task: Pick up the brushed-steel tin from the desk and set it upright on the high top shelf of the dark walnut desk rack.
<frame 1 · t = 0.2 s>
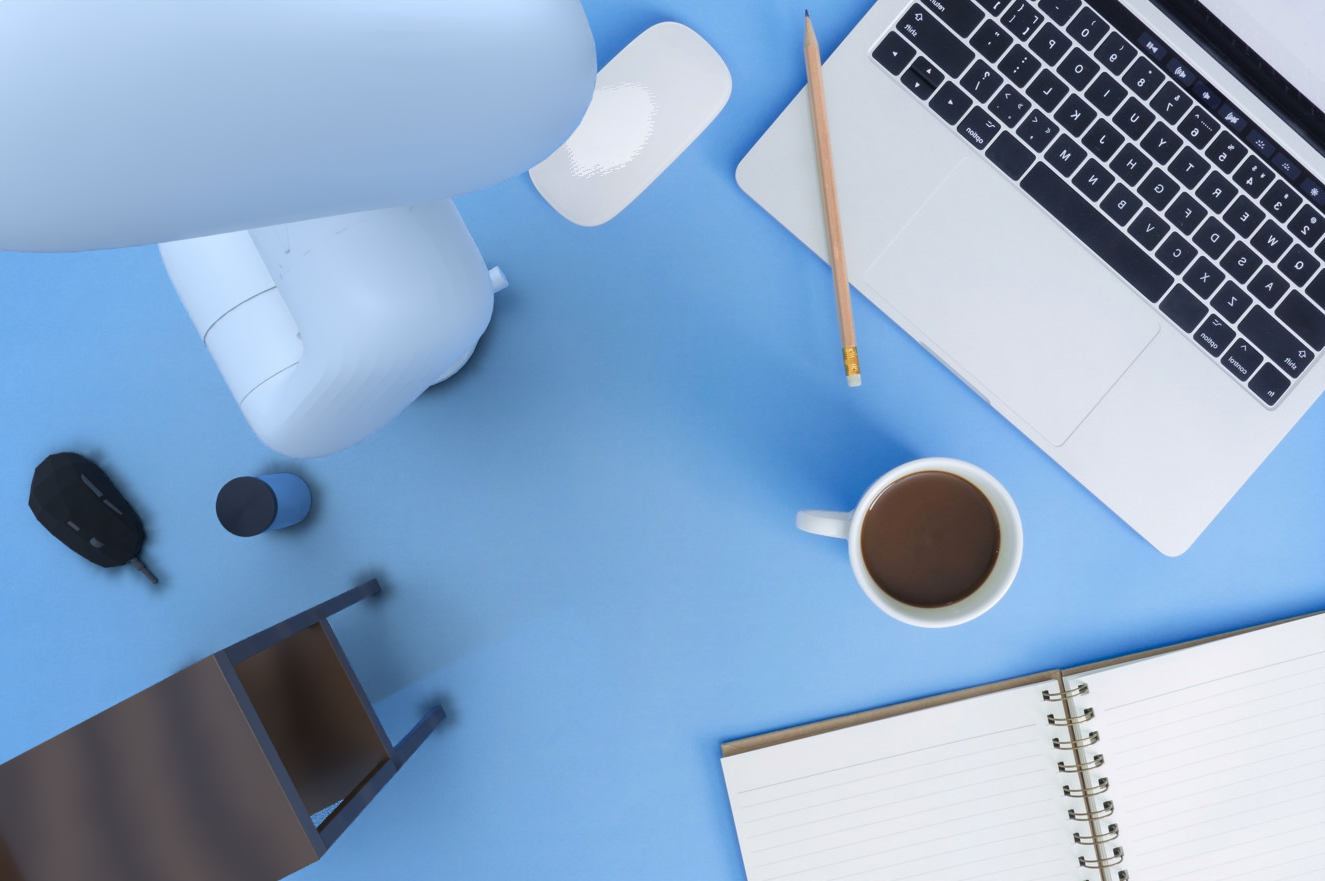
gaming mouse: (105, 521, 80), on the table
steel tin: (285, 499, 79), on the table
rack frame: (314, 696, 79), on the table
top shelf: (137, 820, 55), resting on rack frame
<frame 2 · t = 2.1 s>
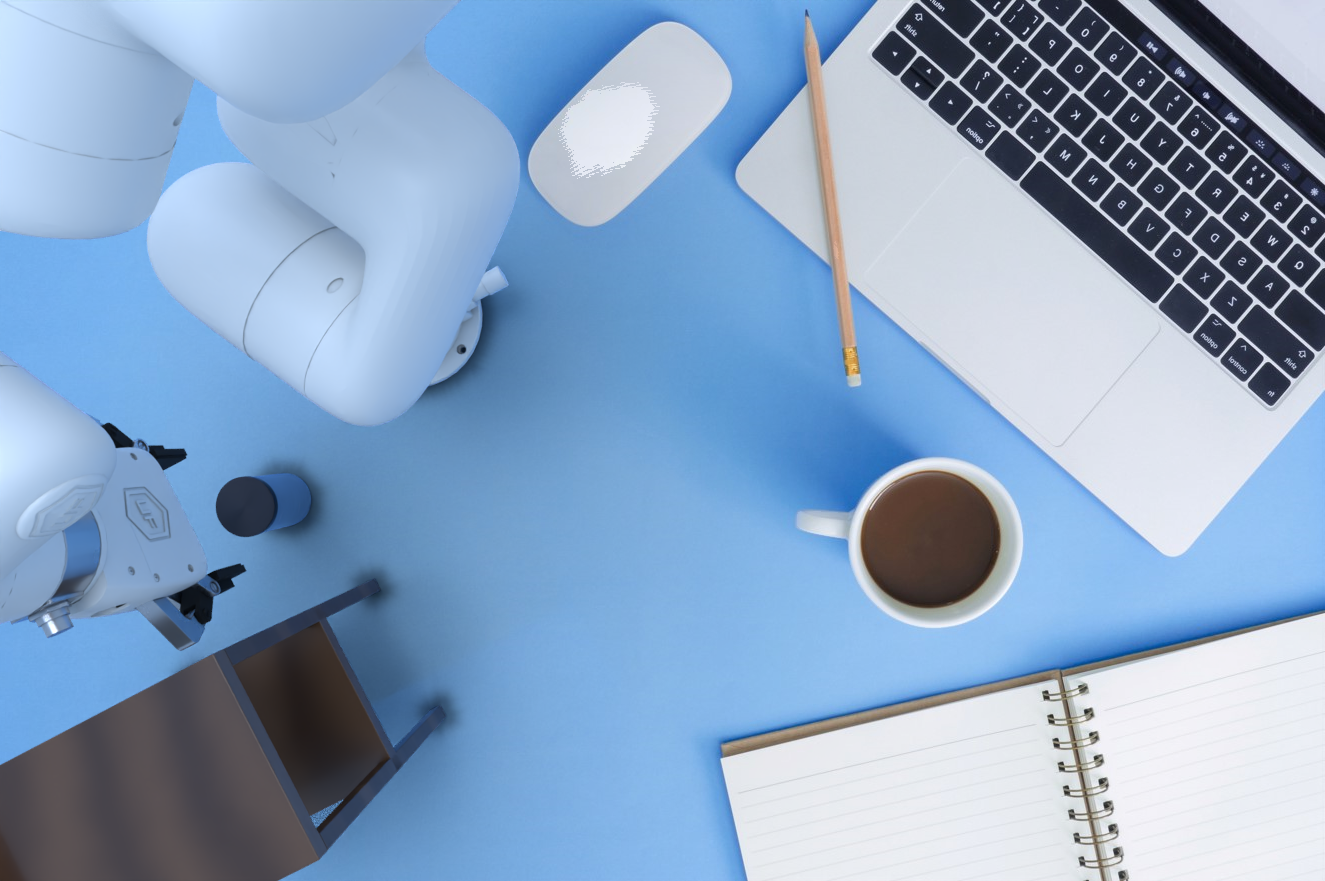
hand: (199, 518, 66), 13 cm above the table, tool pointing down, fingers open, 9 cm apart
nothing on the table moved.
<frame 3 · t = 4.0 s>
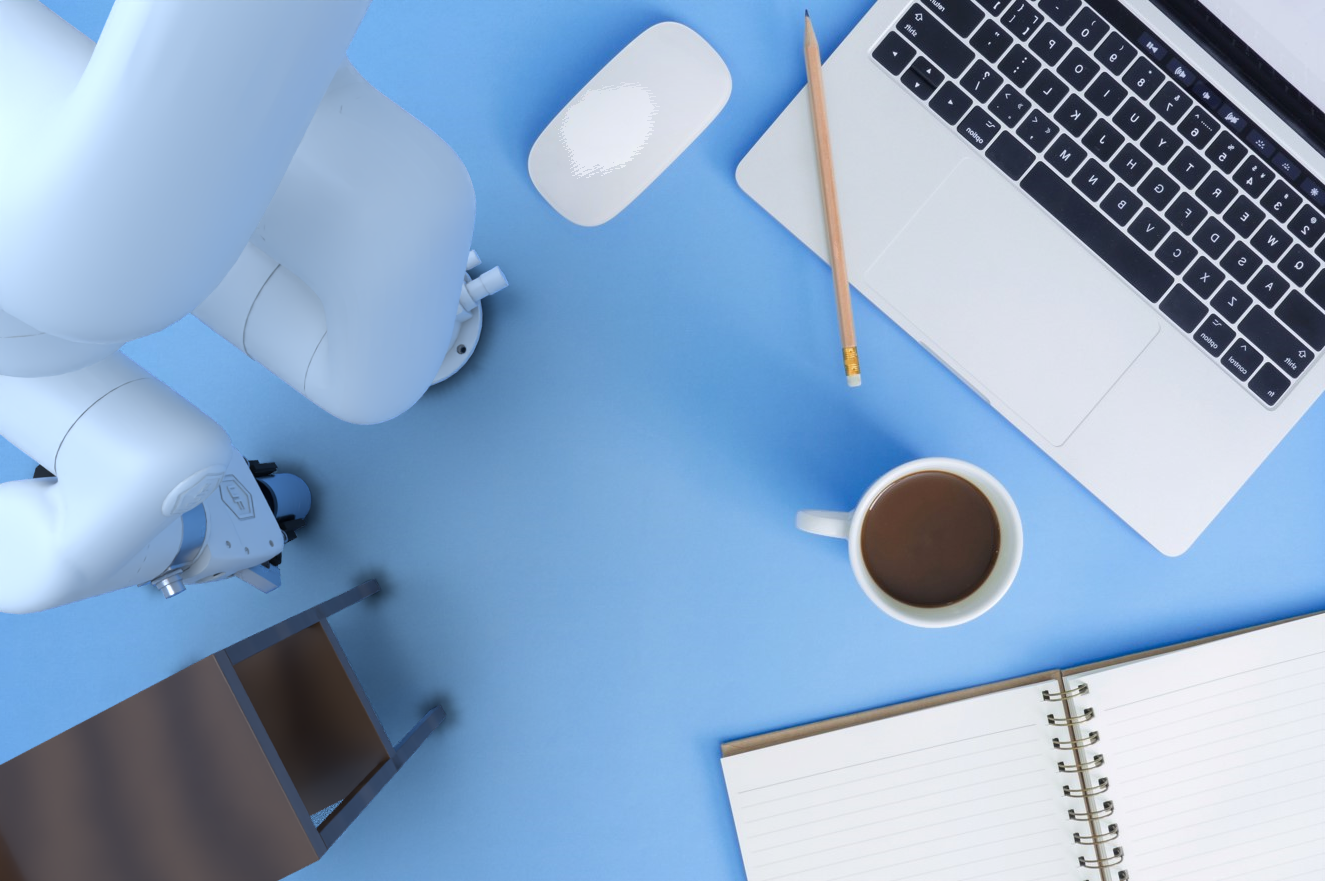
hand: (275, 501, 77), 2 cm above the table, tool pointing down, fingers closed on steel tin, 4 cm apart
steel tin: (285, 499, 79), on the table, touching gripper
everything else where it was.
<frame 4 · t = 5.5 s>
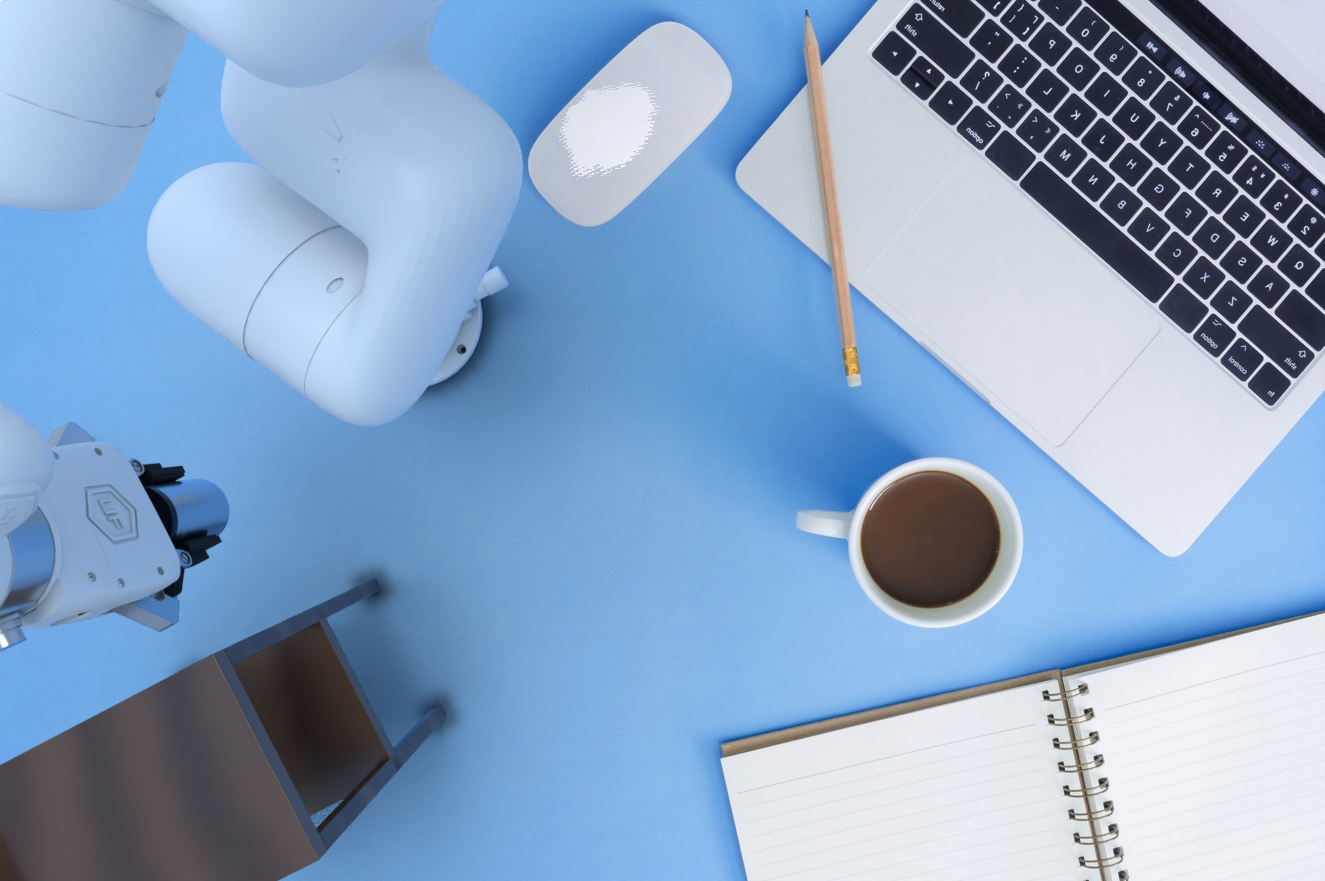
hand: (183, 513, 63), 16 cm above the table, tool pointing down, fingers closed on steel tin, 4 cm apart
steel tin: (198, 510, 65), point 14 cm above the table, touching gripper
everything else where it was.
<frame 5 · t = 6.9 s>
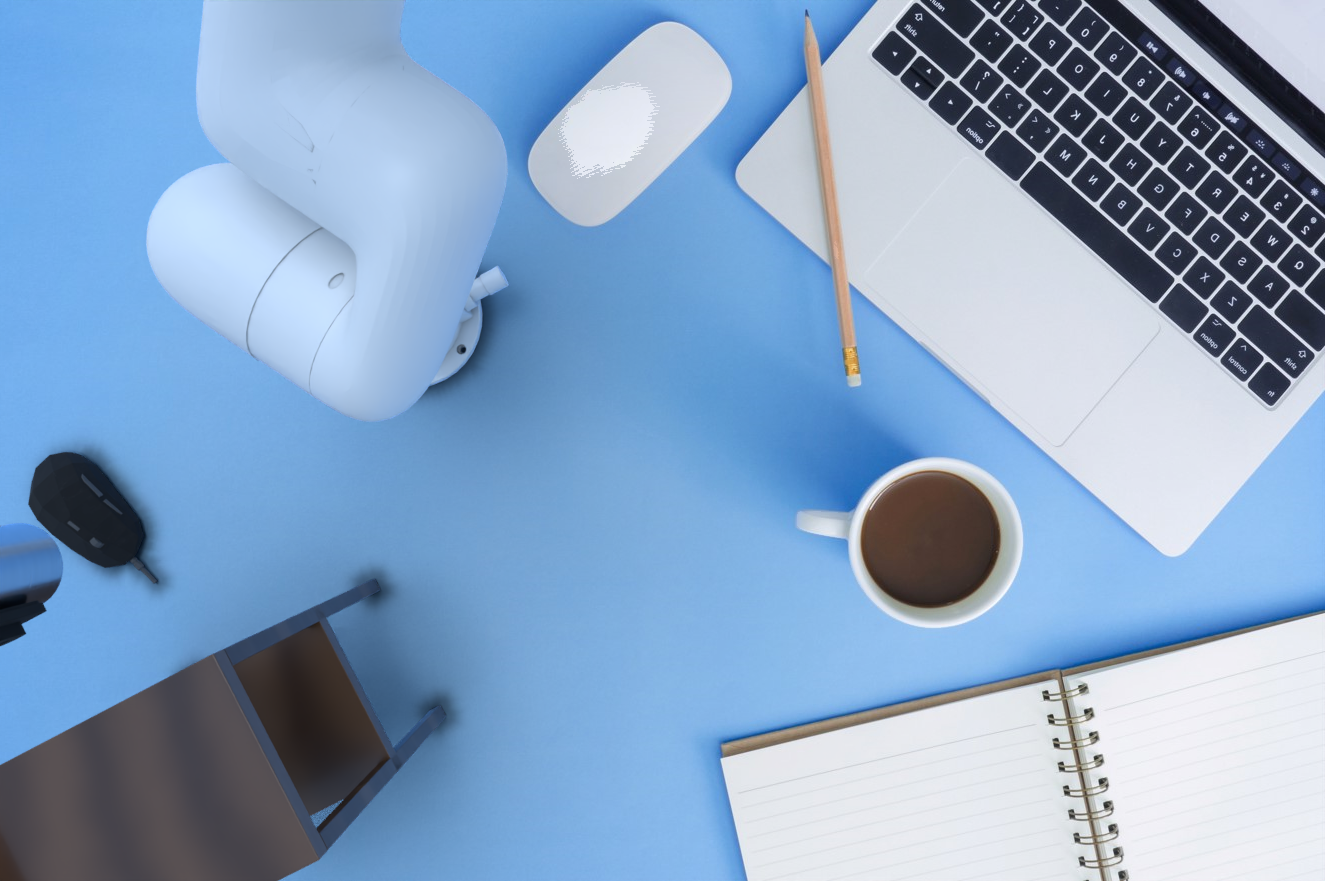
steel tin: (21, 566, 48), point 31 cm above the table, touching gripper
everything else where it was.
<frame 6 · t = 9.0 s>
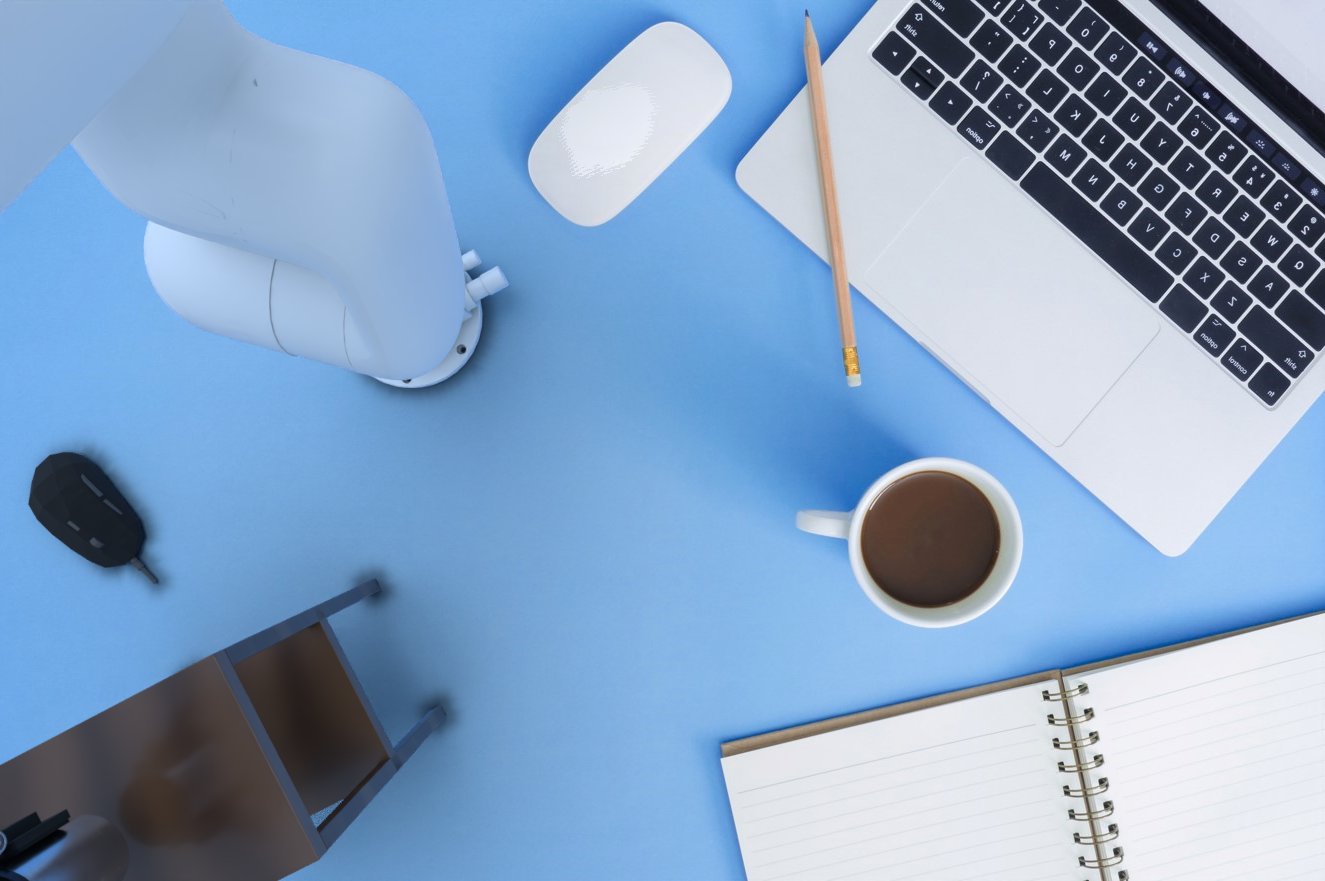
hand: (68, 870, 49), 31 cm above the table, tool pointing down, fingers closed on steel tin, 4 cm apart
steel tin: (89, 855, 51), point 29 cm above the table, touching gripper
everything else where it was.
when the fingers open (28 cm above the table, at t = 10.2 s): steel tin stays where it is, resting on top shelf.
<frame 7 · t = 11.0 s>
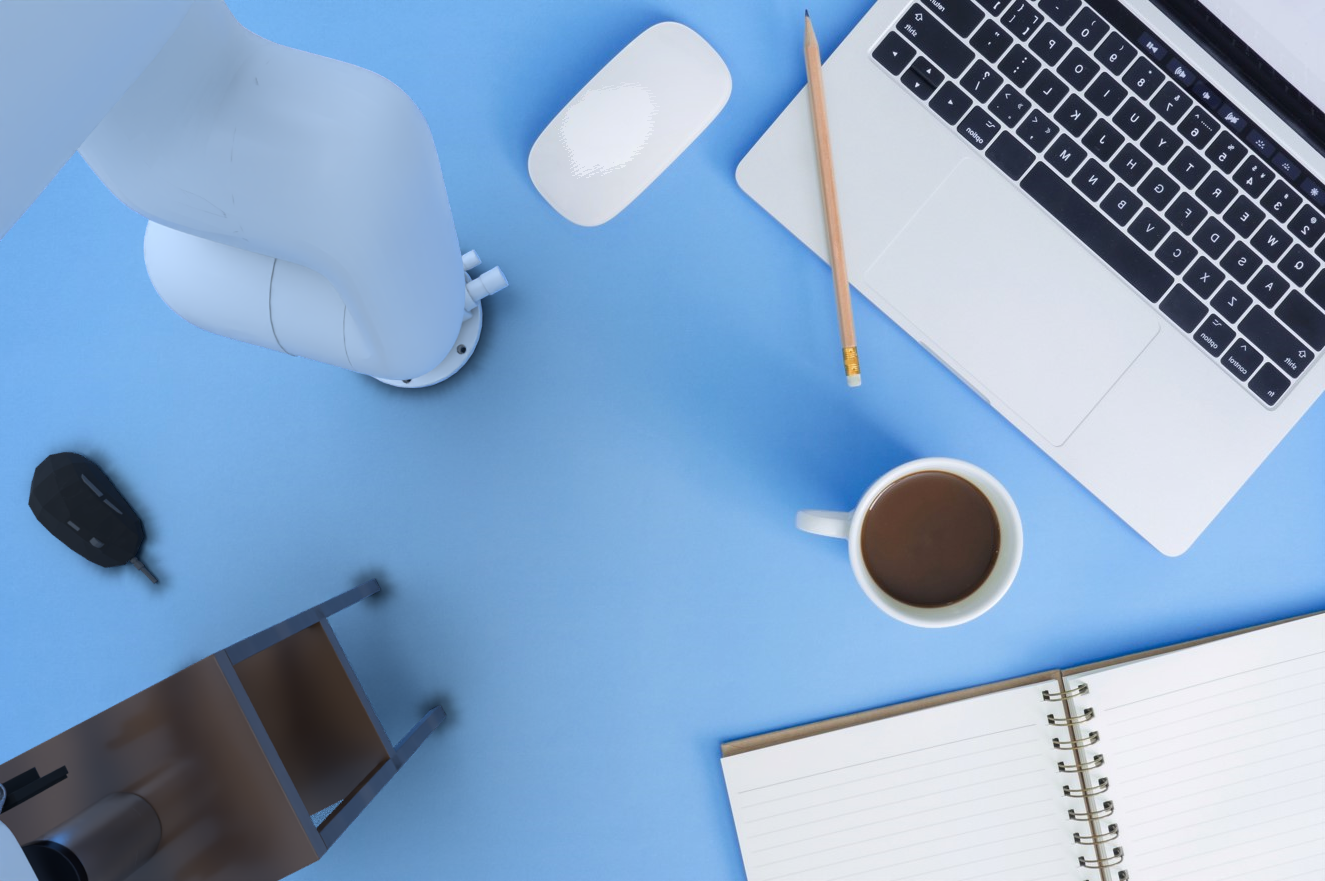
hand: (85, 856, 50), 29 cm above the table, tool pointing down, fingers open, 9 cm apart
steel tin: (123, 830, 53), point 26 cm above the table, touching top shelf
everything else where it was.
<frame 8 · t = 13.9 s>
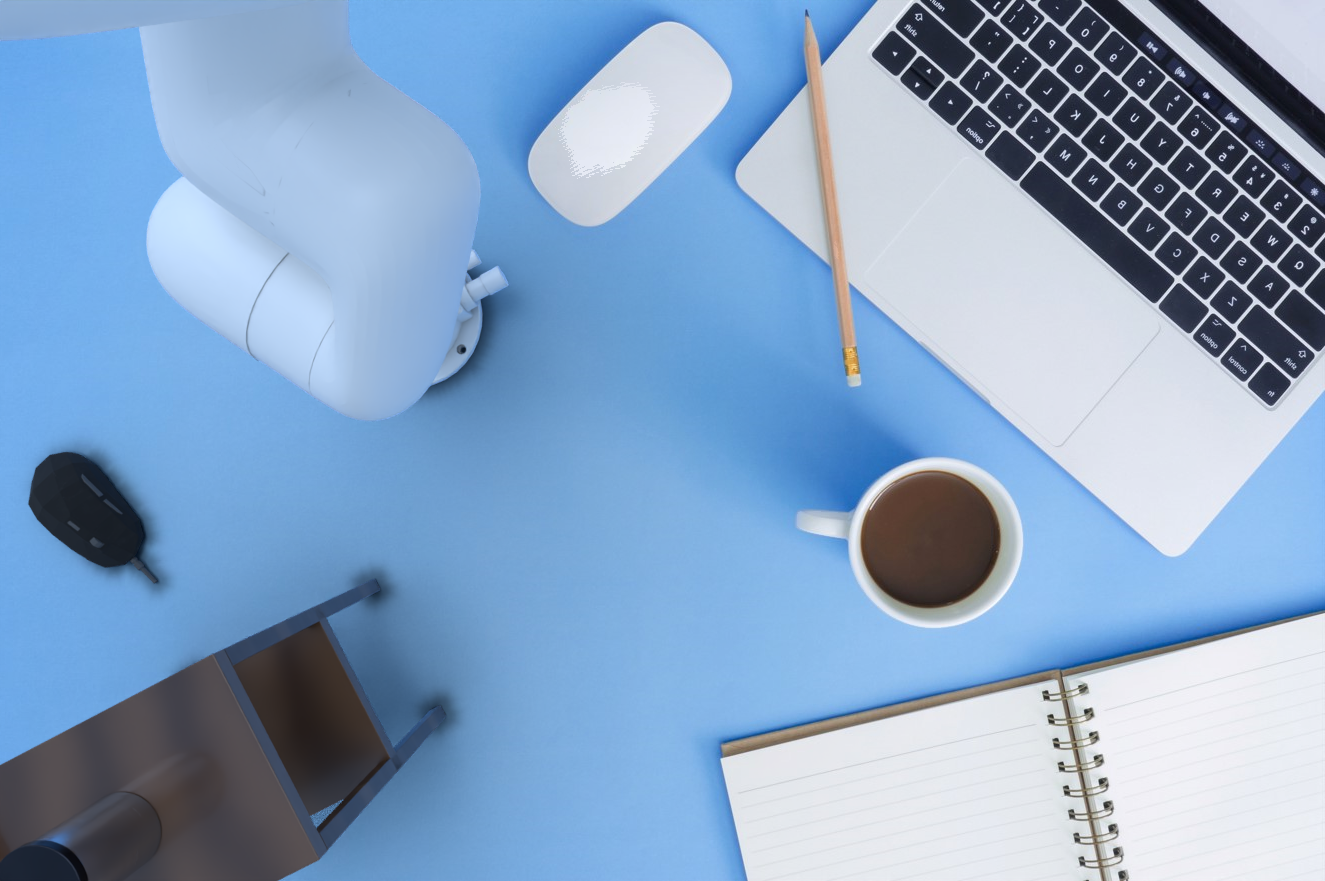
nothing on the table moved.
at the end: steel tin inside the target area on the top shelf (0.1 cm from its centre), point 1.2 cm above the top shelf's base; steel tin tilted 0°; the gripper is holding nothing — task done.
